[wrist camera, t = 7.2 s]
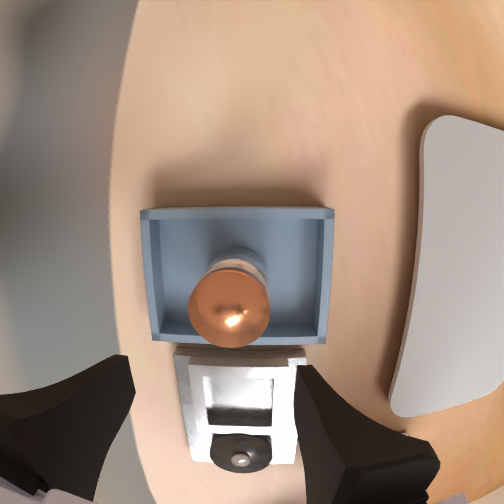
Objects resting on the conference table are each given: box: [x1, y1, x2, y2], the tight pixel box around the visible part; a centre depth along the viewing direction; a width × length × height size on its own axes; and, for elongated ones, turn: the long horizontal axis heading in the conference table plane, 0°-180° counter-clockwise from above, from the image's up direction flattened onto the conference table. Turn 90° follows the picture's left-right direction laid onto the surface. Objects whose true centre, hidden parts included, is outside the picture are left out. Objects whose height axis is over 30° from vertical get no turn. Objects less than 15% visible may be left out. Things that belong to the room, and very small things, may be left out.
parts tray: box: [140, 206, 334, 345], centre depth 20 cm, size 12×9×2 cm
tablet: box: [388, 115, 504, 418], centre depth 20 cm, size 16×26×2 cm, turn 0°
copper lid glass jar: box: [188, 246, 270, 348], centre depth 18 cm, size 4×4×6 cm
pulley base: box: [173, 347, 306, 473], centre depth 22 cm, size 10×13×3 cm
